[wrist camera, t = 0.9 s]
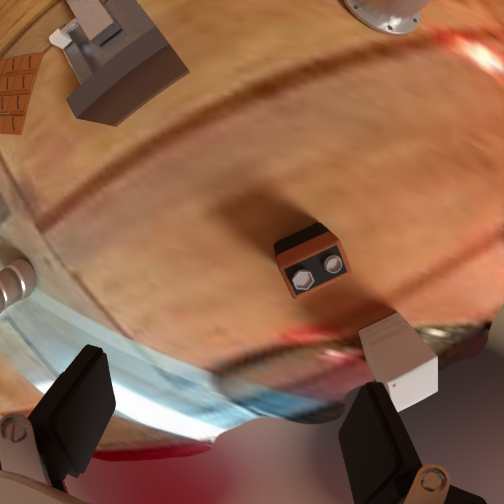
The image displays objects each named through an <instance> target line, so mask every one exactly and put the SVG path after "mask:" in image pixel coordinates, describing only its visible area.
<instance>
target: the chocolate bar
mask: <svg viewBox="0 0 504 504" xmlns="http://www.w3.org/2000/svg"><path fill="white" fill-rule="evenodd" d="M43 55H44V52H40V53H34V54H28V55H22V56H17V57H12V58H7V59H3V60H0V113H10V115H0V134H16V135H22V130H23V125H24V120H25V116H26V112H27V108H28V104H29V100H30V96H31V92H32V89H33V85H34V82H35V79H36V76H37V72H38V69H39V66H40V63H41V61H42V58H43Z"/></svg>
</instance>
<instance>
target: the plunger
mask: <svg viewBox="0 0 504 504" xmlns="http://www.w3.org/2000/svg"><path fill="white" fill-rule="evenodd" d="M66 1H67V3H68V4H69V6H70V8H71V10H72V11H73V13H74V15H75V17H76V18H77V19H75V18H74V19H73V20H72V21H71V22H69V23H68V24H67V25H66V26H65V27H64V28H63V29H62V31H63V32H65V33H67V34H69V33H70V32H71V31H72V30H73V29H74V28H76V27H77V26H78V25H79V24H80V25H81V27H82V29H83V30H84V32H85V34H86V35H87V37H88V39H89V40H90V41H91V42H92V43H94V44H95V45H97V46H99V45H100V44H102V43H103V42H104V41H105V40H107V39H108V38H109V37H110V36H112V35H113V34H114V33H116V32H117V31H118V30H120V29H121V28H120V27H119V25H118V24H117V22H116V21H115V19H114V18H113V17H112V15H111V14H110V12H109V11H108V9H107V8H106V7H105V5H104V4H103V2H102V1H101V0H66Z"/></svg>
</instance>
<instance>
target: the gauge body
mask: <svg viewBox="0 0 504 504" xmlns="http://www.w3.org/2000/svg"><path fill="white" fill-rule="evenodd" d="M104 5H105V7H106V8H107V9H108V11H109V12H110V14H111V15H112V17H113V18H114V19H115V21H116V22H117V24H118V25H119V27H120V28H121V29H120V30H118V31H117V32H116V33H114V34H113V35H112V36H110V37H109V38H108V39H107V40H105V41H104V42H103V43H102V44H100V45H99V46H97V45H95V44H94V43H92V42H91V41H90V40H89V39H88V37H87V35H86V34H85V32H84V30H83V29H82V27H81V25H80V24H79V25H78V26H77V27H76V28H74V29H73V30H72V31H71V32H70V33H69V35H70V37H71V39H72V41H71V42H70V43H69V44H68V45H67V46H66V47H64V48H63V49H62V50H63V52H64V54H65V56H66V58H67V60H68V62H69V64H70V66H71V68H72V69H73V71H74V73H75V75H76V77H77V79H78V81H79V83H80V84H81V85H80V86H79V87H78V88H77V89H76V90H75V91H74V92H73V93H72V94H71V95H70V96H69V97H68V98H67V99H66V100H67V102H68V104H69V106H70V108H71V110H72V112H73V113H74V115H75V117H76V118H77V119H82V120H87V121H92V122H97V123H102V124H106V125H111V126H115V127H117V126H118V125H119V124H120V123H122V122H123V121H124V120H125V119H126V118H128V117H129V116H130V115H131V114H133V113H134V112H135V111H136V110H138V109H139V108H140V107H142V106H143V105H144V104H145V103H147V102H148V101H149V100H151V99H152V98H153V97H155V96H156V95H158V94H159V93H160V92H162V91H163V90H165V89H166V88H167V87H169V86H170V85H172V84H173V83H175V82H176V81H178V80H179V79H181V78H182V77H184V76H185V75H187V74H188V73H190V71H189V70H188V69H187V67H186V66H185V64H184V63H183V62H182V60H181V59H180V57H179V56H178V55H177V53H176V52H175V51H174V49H173V48H172V47H171V45H170V44H169V43H168V41H167V40H166V39H165V37H164V36H163V35H162V33H161V32H160V31H159V29H158V28H157V27H156V25H155V24H154V23H153V21H152V20H151V19H150V18H149V16H148V15H147V14H146V12H145V11H144V10H143V9H142V7H141V6H140V5H139V4H138V2H137V1H136V0H109V1H107V2H106V3H105V4H104ZM65 26H66V24H65V25H63V26H62V27H61V28H60V30H62V29H63V28H64V27H65Z"/></svg>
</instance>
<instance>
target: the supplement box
mask: <svg viewBox="0 0 504 504" xmlns="http://www.w3.org/2000/svg"><path fill="white" fill-rule="evenodd" d="M358 333H359V336H360V339H361V343H362V347H363V350H364V354H365V358H366V361H367V364H368V365H369V367H370V369H371V371H372V373H373V375H374V377H375V379H376V381H377V382H382V383H383V384H384V386H385V388H386V390H387V392H388V394H389V396H390V398H391V400H392V402H393V404H394V406H395V408H396V410H397V412H399V411H401V410H403V409H405V408H407V407H409V406H411V405H413V404H415V403H417V402H419V401H421V400H422V399H424V398H426V397H428V396H430V395H432V394H433V393H435V392H437V391H438V357H437V355H436V354H435V353H434V352H433V351H432V350H431V349H430V348H429V346H428V345H427V344H426V343H425V342H424V341H423V339H422V338H421V337H420V336H419V335H418V334H417V332H416V331H415V330H414V329H413V328H412V327H411V326H410V324H409V323H408V322H407V321H406V320H405V319H404V318H403V317H402V316H401V315H400V314H399V312H397V313H395V314H393V315H391V316H389V317H387V318H385V319H382V320H380V321H378V322H376V323H374V324H372V325H370V326H367V327H365V328H363V329H361V330H359V331H358Z"/></svg>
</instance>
